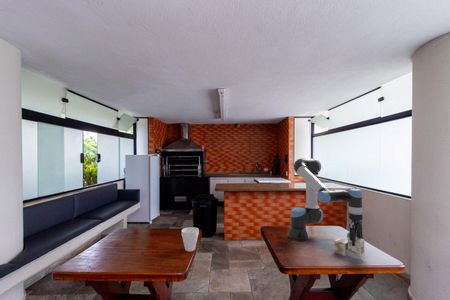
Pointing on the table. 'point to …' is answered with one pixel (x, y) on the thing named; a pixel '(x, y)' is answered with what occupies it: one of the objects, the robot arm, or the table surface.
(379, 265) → the table surface
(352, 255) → the rail board
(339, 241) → the cream toy block
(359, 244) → the cream patterned block
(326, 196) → the robot arm
